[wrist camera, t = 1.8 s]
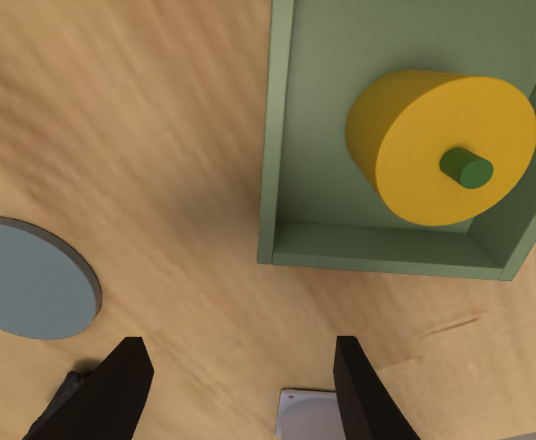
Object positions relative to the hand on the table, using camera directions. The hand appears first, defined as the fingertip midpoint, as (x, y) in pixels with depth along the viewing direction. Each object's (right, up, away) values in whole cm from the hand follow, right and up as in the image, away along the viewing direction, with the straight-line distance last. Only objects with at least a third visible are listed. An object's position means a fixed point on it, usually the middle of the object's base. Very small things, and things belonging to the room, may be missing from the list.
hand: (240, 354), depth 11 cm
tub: (+8, +10, +5) cm, 14 cm away
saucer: (-17, 0, +11) cm, 20 cm away
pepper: (+8, +10, +4) cm, 13 cm away
